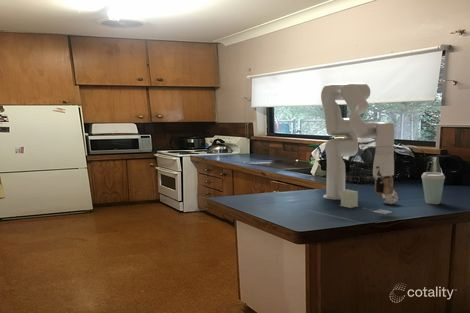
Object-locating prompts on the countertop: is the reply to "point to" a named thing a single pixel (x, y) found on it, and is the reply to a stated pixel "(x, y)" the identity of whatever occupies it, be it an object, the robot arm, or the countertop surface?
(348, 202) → the sage block
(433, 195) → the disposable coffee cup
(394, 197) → the cream knobbly ball
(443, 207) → the countertop surface
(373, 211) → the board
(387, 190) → the walnut block
